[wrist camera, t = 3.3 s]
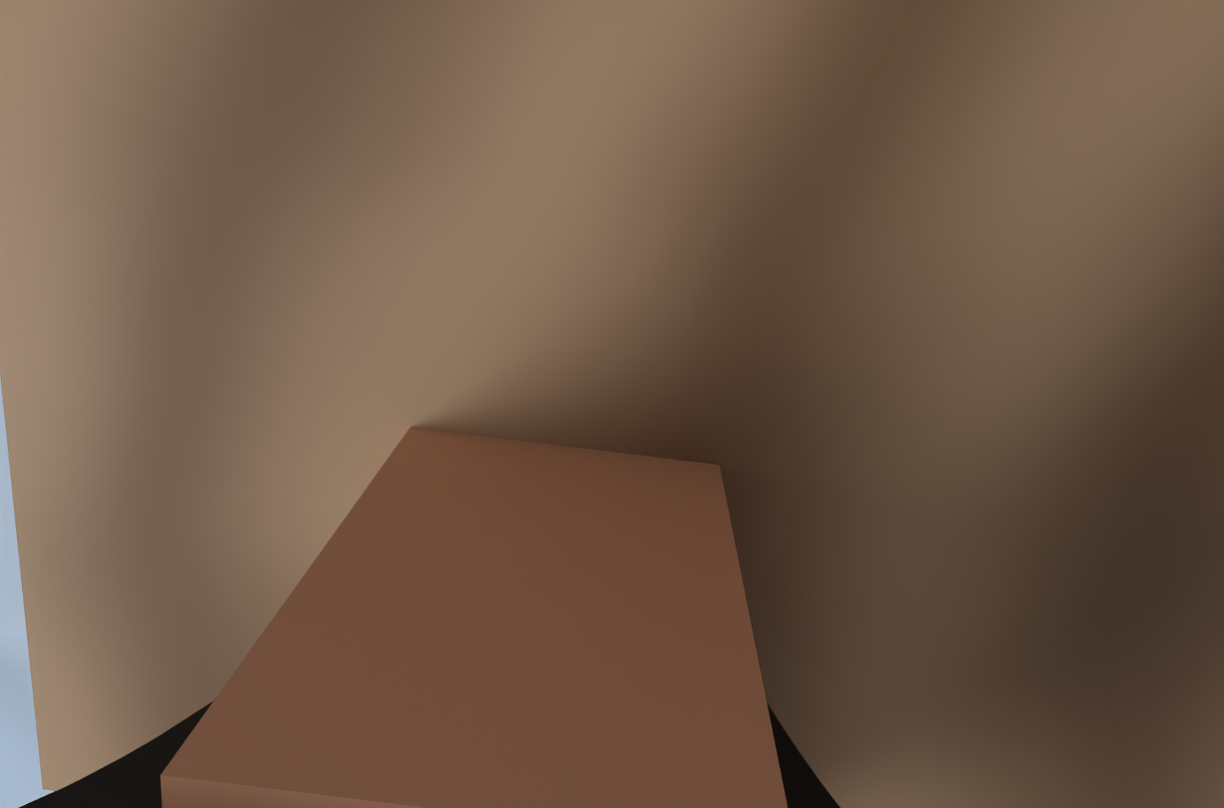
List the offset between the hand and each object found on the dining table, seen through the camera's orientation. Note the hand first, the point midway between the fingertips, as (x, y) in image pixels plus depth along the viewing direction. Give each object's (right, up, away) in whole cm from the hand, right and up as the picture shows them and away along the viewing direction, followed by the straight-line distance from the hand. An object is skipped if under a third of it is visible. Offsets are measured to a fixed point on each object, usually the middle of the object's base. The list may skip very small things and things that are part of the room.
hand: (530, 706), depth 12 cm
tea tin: (0, 0, +1) cm, 2 cm away
